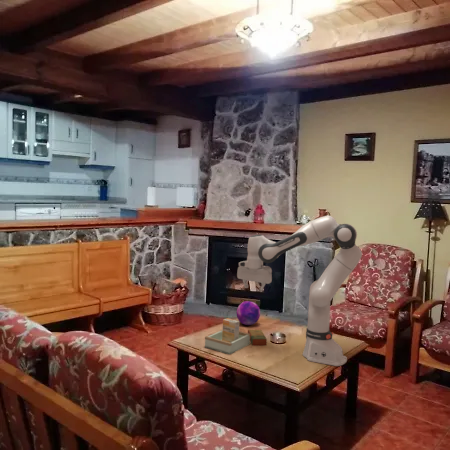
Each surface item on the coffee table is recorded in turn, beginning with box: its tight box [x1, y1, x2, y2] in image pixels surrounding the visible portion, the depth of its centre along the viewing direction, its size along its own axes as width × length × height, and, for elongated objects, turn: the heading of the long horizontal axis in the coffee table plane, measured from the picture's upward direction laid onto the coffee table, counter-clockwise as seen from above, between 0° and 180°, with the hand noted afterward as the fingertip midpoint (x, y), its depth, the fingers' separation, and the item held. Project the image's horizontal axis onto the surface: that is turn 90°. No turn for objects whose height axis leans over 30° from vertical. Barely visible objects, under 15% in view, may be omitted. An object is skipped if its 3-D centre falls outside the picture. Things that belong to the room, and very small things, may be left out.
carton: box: [247, 329, 268, 347], centre depth 251 cm, size 8×16×4 cm, turn 6°
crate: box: [204, 329, 251, 356], centre depth 241 cm, size 16×20×6 cm
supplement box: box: [221, 317, 241, 343], centre depth 241 cm, size 8×5×13 cm, turn 55°
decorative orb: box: [236, 300, 261, 326], centre depth 280 cm, size 15×15×15 cm
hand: (253, 289), depth 242 cm, fingers open, 8 cm apart
